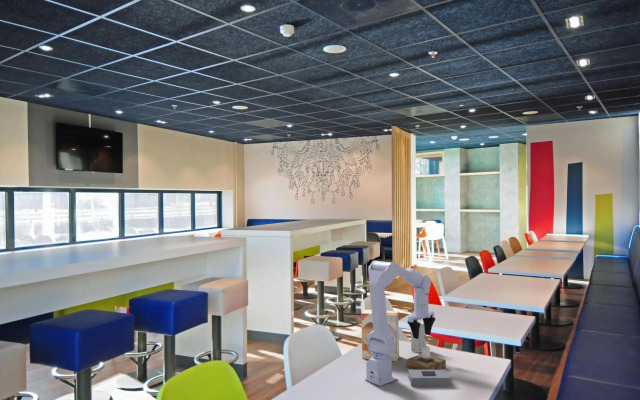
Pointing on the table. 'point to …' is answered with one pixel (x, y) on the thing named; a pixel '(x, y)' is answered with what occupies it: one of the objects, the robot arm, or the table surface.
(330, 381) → the table surface
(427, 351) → the metal axle
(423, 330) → the skincare box
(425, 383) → the bored beam
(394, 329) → the coffeecake box
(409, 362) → the walnut seat block
